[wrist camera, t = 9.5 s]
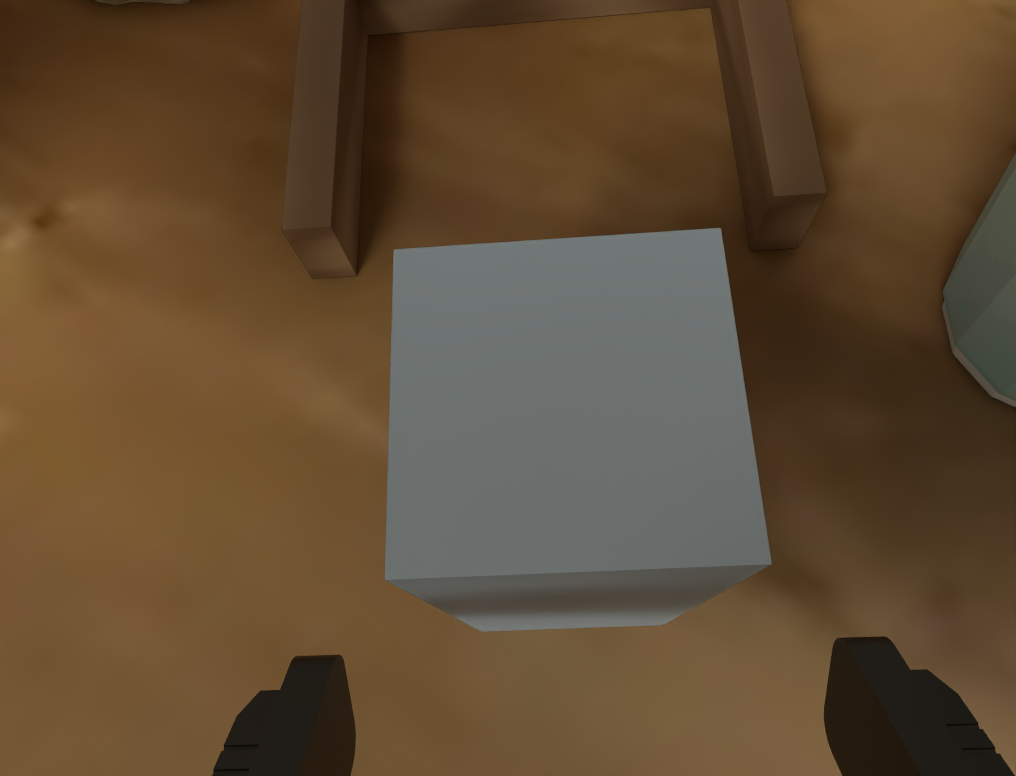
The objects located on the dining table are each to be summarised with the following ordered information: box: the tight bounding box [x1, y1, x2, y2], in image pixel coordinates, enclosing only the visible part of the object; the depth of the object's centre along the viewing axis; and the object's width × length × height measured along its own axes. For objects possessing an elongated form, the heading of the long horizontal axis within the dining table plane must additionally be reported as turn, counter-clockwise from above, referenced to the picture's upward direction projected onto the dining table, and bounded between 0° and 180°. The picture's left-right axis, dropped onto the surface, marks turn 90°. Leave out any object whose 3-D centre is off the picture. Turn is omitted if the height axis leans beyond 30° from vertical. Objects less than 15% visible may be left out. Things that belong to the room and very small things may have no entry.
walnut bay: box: [281, 0, 827, 279], centre depth 26 cm, size 16×12×3 cm
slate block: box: [385, 228, 772, 632], centre depth 16 cm, size 5×5×12 cm
